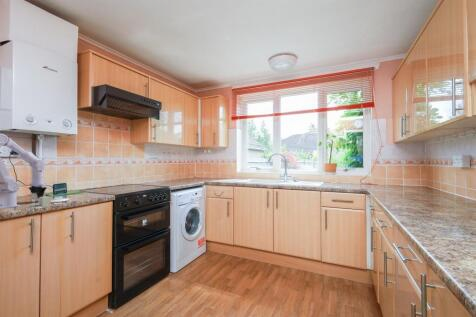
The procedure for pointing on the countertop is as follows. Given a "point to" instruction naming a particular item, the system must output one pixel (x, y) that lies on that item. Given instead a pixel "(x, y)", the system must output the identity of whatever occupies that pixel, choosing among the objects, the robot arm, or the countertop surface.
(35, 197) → the grey square block
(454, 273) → the countertop surface
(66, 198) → the cream round disc
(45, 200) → the block
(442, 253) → the countertop surface
